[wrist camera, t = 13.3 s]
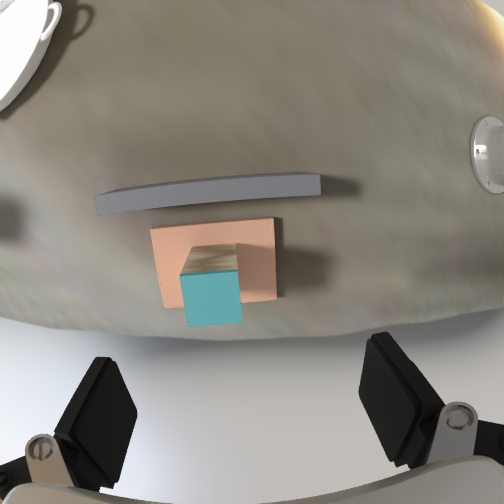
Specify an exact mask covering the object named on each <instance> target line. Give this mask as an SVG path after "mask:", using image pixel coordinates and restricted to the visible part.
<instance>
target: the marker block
mask: <svg viewBox="0 0 504 504" xmlns="http://www.w3.org/2000/svg"><path fill="white" fill-rule="evenodd" d="M179 279H180V285H181V290H182V296H183V302H184V307H185V313H186V318H187V323H188V327H191V326H207V325H221V324H234V323H243V322H242V311H241V299H240V286H239V275H238V264H237V252H236V243H228V244H217V245H205V246H194V247H191V250H190V252H189V254H188V257H187V259H186V261H185V264H184V266H183V268H182V271H181V273H180V276H179Z"/></svg>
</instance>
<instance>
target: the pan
mask: <svg viewBox="0 0 504 504" xmlns="http://www.w3.org/2000/svg"><path fill="white" fill-rule="evenodd" d="M61 12H62V6H61V4H60V3H58V2H55V3H54V2H53V0H0V112H1V111H2V110H3V109H4V108H5V107H7V106H8V105H9V104H10V103H11V102H12V101H13V100H14V99H15V98H16V97H17V96H18V95H19V93H20V92H21V91H22V90H23V88H24V87H25V86H26V85H27V83H28V82H29V81H30V79H31V78H32V76H33V74H34V73H35V71H36V70H37V68H38V66H39V64H40V63H41V61H42V59H43V57H44V55H45V53H46V50H47V48H48V46H49V43H50V40H51V37H52V34H53V31H54V28H55V27H56V25H57V24H58V21H59V19H60V16H61Z"/></svg>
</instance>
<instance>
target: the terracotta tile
mask: <svg viewBox="0 0 504 504" xmlns="http://www.w3.org/2000/svg"><path fill="white" fill-rule="evenodd" d="M150 231H151V238H152V244H153V251H154V257H155V263H156V269H157V274H158V280H159V285H160V290H161V295H162V300H163V305H164V308H174V307H184V302H183V296H182V290H181V285H180V279H179V276H180V273H181V271H182V268H183V266H184V264H185V261H186V259H187V257H188V254H189V252H190V250H191V247H194V246H205V245H217V244H228V243H236V252H237V264H238V275H239V286H240V299H241V303H245V302H256V301H267V300H277V288H276V261H275V238H274V218H273V217H264V218H251V219H238V220H226V221H214V222H203V223H192V224H181V225H171V226H161V227H152V228H151V229H150Z"/></svg>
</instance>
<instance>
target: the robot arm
mask: <svg viewBox="0 0 504 504" xmlns="http://www.w3.org/2000/svg"><path fill="white" fill-rule="evenodd" d="M471 160H472V165H473V169H474V172H475V175H476V177H477V179H478V181H479V183H480V184H481V186H482V187H483V188H484V189H485V190H486V191H488V192H490V193H494V194H500V193H502V192H504V124H503V123H502V122H501V121H500V120H499V119H497V118H495V117H484V118H481V119H480V120H479V121H478V122H477V124H476V125H475V127H474V130H473V133H472V137H471ZM359 397H360V400H361V402H362V404H363V406H364V408H365V410H366V412H367V414H368V416H369V419H370V421H371V423H372V425H373V427H374V429H375V431H376V433H377V435H378V438H379V440H380V442H381V444H382V447H383V449H384V451H385V453H386V456H387V458H388V459H389V461H390V462H393V461H394V463H395V466H396V467H399V466H402V465H404V464H407V465H408V467H409V468H410V470H409V471H406V472H403V473H400V474H397V475H395V476H392V477H389V478H385V479H383V480H379V481H376V482H372V483H369V484H365V485H362V486H358V487H354V488H350V489H346V490H343V491H338V492H334V493H329V494H325V495H319V496H314V497H308V498H303V499H296V500H289V501H282V502H272V503H262V504H504V425H502V424H496V423H491V422H487V421H482V420H478V416H477V412H476V410H475V409H474V408H473V407H472V406H471V405H469V404H467V403H464V402H452V403H449V404H447V405H445V404H444V402H443V401H442V399H441V398H440V397H439V396H438V394H437V393H436V391H435V390H434V389H433V387H432V386H431V385H430V384H429V382H428V381H427V379H426V378H425V377H424V376H423V374H422V373H421V372H420V371H419V369H418V368H417V366H416V365H415V364H414V363H413V362H412V361H411V360H410V359H409V358H408V357H407V356H406V354H405V353H404V352H403V350H402V349H401V348H400V347H399V345H398V344H397V343H396V341H394V339H393V338H392V336H391V335H390V334H389V333H388V332H381V333H376V334H373V335H372V336H371V339H368V340H367V344H366V351H365V357H364V364H363V370H362V375H361V381H360V386H359ZM136 419H137V409H136V407H135V405H134V402H133V400H132V398H131V396H130V394H129V391H128V389H127V387H126V385H125V382H124V380H123V378H122V375H121V373H120V371H119V368H118V366H117V363H116V362H115V361H112V359H111V358H110V357H96V358H95V359H94V360H93V362H92V364H91V366H90V367H89V369H88V370H87V372H86V374H85V376H84V377H83V379H82V381H81V382H80V384H79V386H78V388H77V389H76V391H75V393H74V395H73V397H72V398H71V400H70V402H69V404H68V406H67V407H66V409H65V411H64V413H63V415H62V417H61V419H60V421H59V423H58V424H57V426H56V428H55V430H54V432H55V434H54V436H53V437H52V436H50V435H48V434H39V435H36V436H34V437H32V438H31V439H30V440H29V441H28V443H27V445H26V447H25V456H23V457H20V458H18V459H16V460H13V461H11V462H8V463H6V464H3V465H0V504H170V503H160V502H151V501H144V500H137V499H130V498H124V497H118V496H113V495H108V494H103V493H100V492H99V490H100V487H106V488H111V489H113V487H114V484H115V483H117V482H118V481H119V478H120V474H121V471H122V467H123V463H124V460H125V456H126V453H127V449H128V446H129V442H130V439H131V435H132V432H133V429H134V425H135V422H136Z"/></svg>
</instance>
